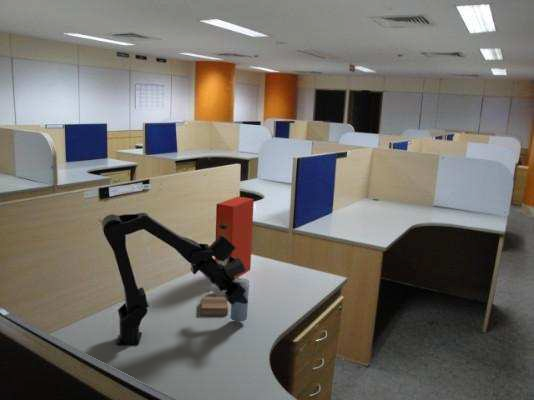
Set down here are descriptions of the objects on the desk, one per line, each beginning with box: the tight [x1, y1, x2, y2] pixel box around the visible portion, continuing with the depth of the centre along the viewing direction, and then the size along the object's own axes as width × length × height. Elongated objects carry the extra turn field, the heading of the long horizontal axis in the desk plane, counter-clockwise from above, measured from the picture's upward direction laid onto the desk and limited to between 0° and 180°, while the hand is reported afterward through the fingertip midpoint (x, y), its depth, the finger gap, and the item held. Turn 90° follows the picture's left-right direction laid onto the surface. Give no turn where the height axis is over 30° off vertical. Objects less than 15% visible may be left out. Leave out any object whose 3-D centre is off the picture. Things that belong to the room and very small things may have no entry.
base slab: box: [201, 296, 229, 316], centre depth 158 cm, size 9×9×2 cm
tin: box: [230, 277, 250, 322], centre depth 148 cm, size 6×6×13 cm
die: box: [209, 282, 226, 297], centre depth 169 cm, size 8×9×10 cm
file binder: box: [214, 196, 255, 279], centre depth 187 cm, size 8×17×32 cm, turn 154°
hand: (243, 298), depth 149 cm, fingers closed on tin, 5 cm apart
